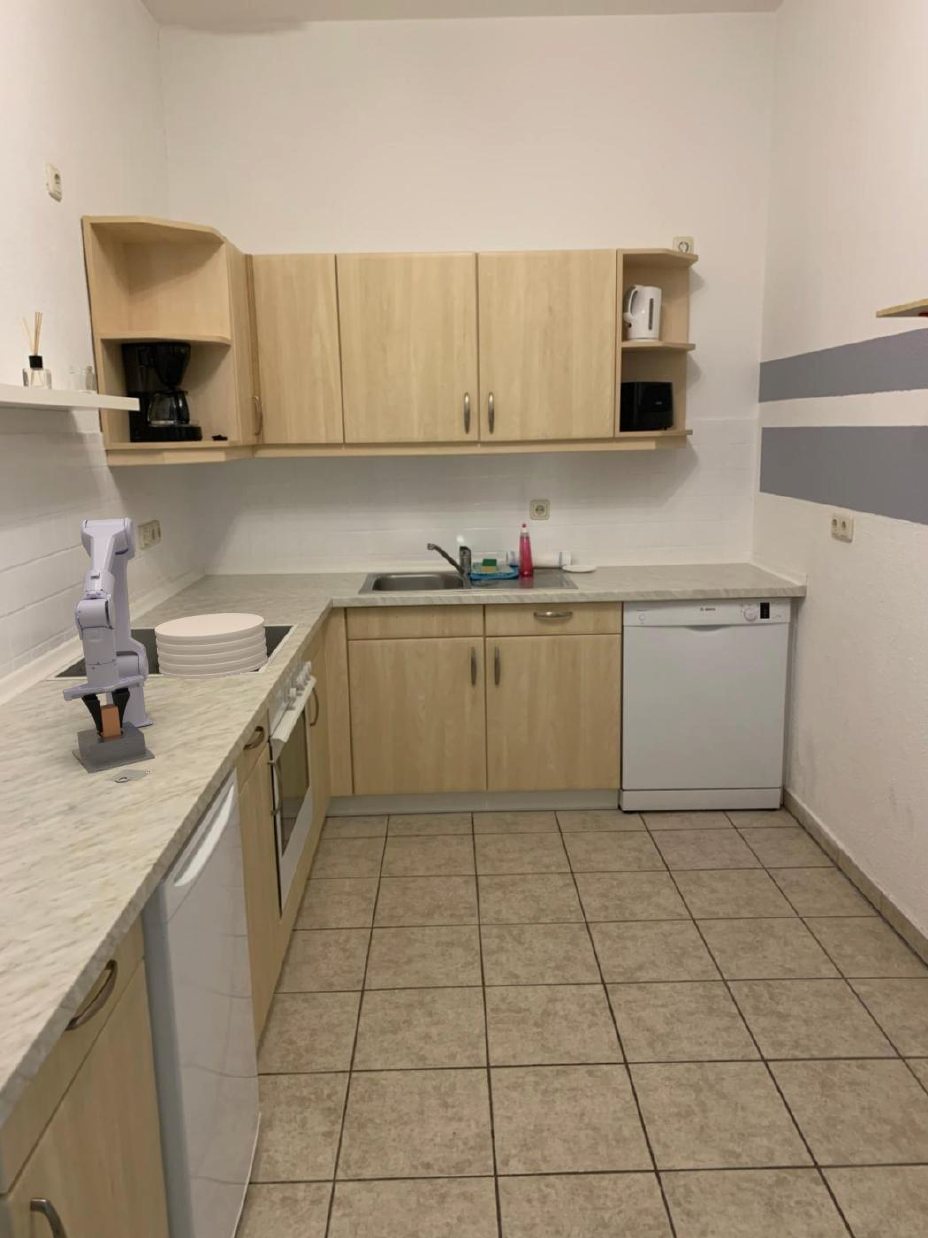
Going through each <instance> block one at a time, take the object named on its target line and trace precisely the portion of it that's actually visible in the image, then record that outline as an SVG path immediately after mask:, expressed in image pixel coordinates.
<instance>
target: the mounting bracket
mask: <svg viewBox="0 0 928 1238" xmlns="http://www.w3.org/2000/svg"><path fill="white" fill-rule="evenodd" d="M146 772H149V774H151V773H150V772H151V770H146V769H145V770H144V769H131V768H125V769H122V770H120V771H119V772H117V773H116V774H114V775H113V776H111V777H109V778H107V780H105V782H115V784H122V783H128V782H138V781H140V780H141V779H143V778H145V777H146V776H147V775H149V774H148V773H146Z"/></svg>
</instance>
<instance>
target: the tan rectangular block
mask: <svg viewBox="0 0 928 1238" xmlns="http://www.w3.org/2000/svg"><path fill="white" fill-rule="evenodd" d="M100 711H101V720H102V725H103V732H101V738H105V737H109V736H114V735H119V734H121V730H120V722H119V714H118V707H117V706H116V705H115V704H114V703H112V704H107V703H106V704H103V705H100Z"/></svg>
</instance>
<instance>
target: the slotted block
mask: <svg viewBox="0 0 928 1238" xmlns="http://www.w3.org/2000/svg"><path fill="white" fill-rule="evenodd" d="M120 730H121V734H119V735H114V736H109V737H105V738H101V732H100V733H99V732H98V731H97V728H96V727H95V728H91V729H86V730H80V731H77V732H76V733H77V739H78V740H77V741H78V748H75V749H71V752H72V754H73V756H74V757H76V759H77V760H78V761H79V762H80V764H81V765H82V766H83V768H84V769H85V770H86V771H87V772H88V773H89V774H92V773H96V772H99V771H105V770H109V769H113V768H118V767H123V766H126V765H130V764H136V763H138V762H143V761H146V760H147V761H149V760H152V759H155V757H156V756H155V754H154V753H153V752H151V750H150V749H148V747H147V746H146V741H145V733H143V732H142V730H140V728H139V727H135V726H134V725H133V724H132V723H131V722H130V721H128V722H124V723H123V725H122V728H120Z"/></svg>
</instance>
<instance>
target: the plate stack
mask: <svg viewBox="0 0 928 1238" xmlns="http://www.w3.org/2000/svg"><path fill="white" fill-rule="evenodd" d="M264 626H265V619H264V617H263V616H261V615H257V614H254V613H243V612H224V613H223V612H220V613H208V614H197V615H193V616H191V615H190V616H185V617H181V618H176V619H175V618H174V619H172V620H169V621H166V622H163V623H161V624H158V625H157V626H155V628H154V635H155V636H156V638H155V644H156V646H157V647H156V652H157V653H156V654H157V655H158V657H157V661H158V662H157V663H158V665H159V666H158V670H159V671H158V672H159V674H160V673H161V674H163V675H165V676H169V677H173V678H172V679H174V678H180V679H179V680H184V679H200V680H212V679H211V678H214V679H221V678H220V677H222V678H227V677H226V676H229V677H232V676H231V675H234V676H237V675H236V674H239V675H241V674H240V673H243V674H246V673H250V672H254V671H256V670H258V669H261V668H262V667H263V666H266V664H267V663H268V662H269V661H268V655H267V653H268V650H267V649H268V648H267V645H266V644H267V637H266V627H264ZM161 674H160V675H161ZM163 675H162V676H163ZM165 676H164V677H165ZM169 677H168V678H169Z"/></svg>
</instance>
